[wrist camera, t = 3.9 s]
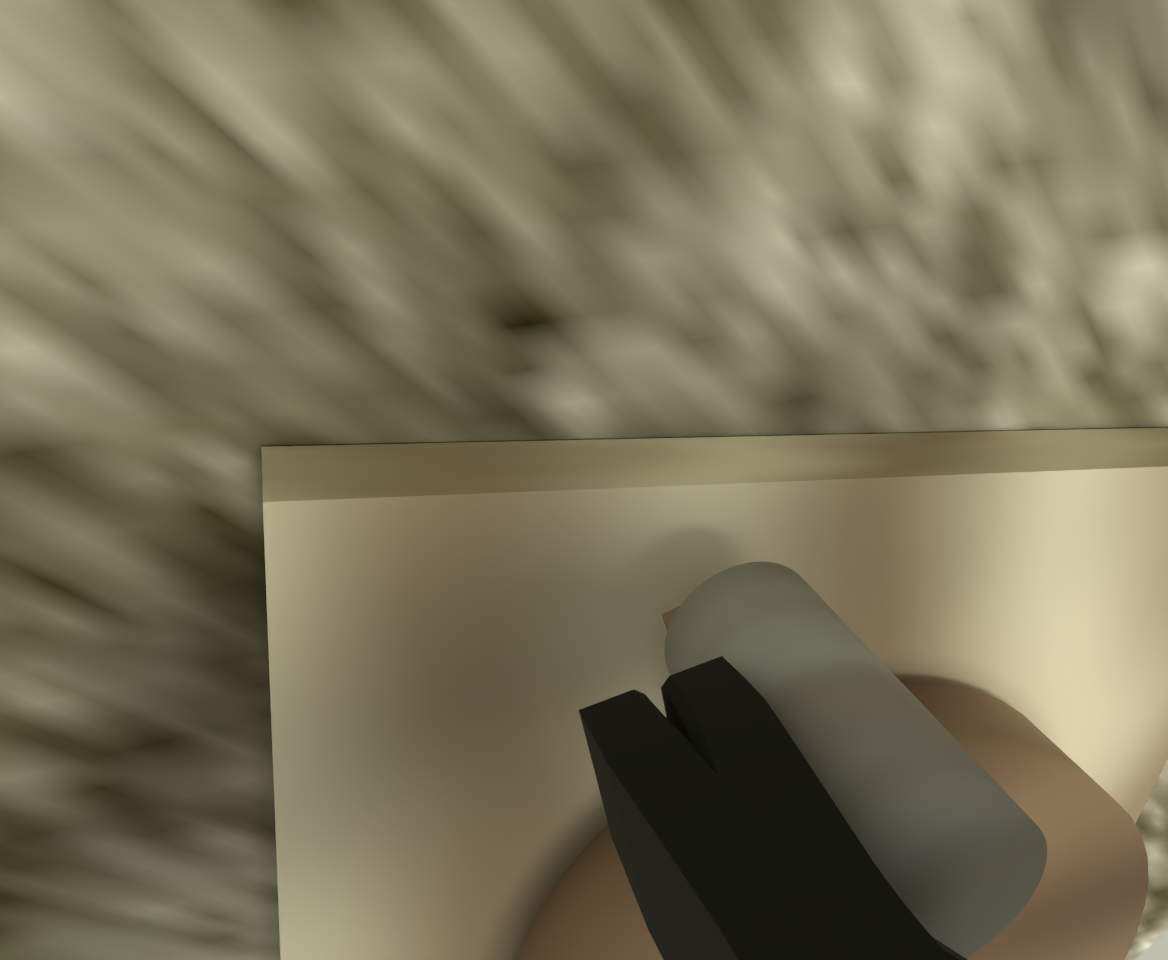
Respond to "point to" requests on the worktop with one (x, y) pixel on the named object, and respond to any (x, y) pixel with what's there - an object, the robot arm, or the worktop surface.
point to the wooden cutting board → (655, 633)
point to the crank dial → (894, 793)
